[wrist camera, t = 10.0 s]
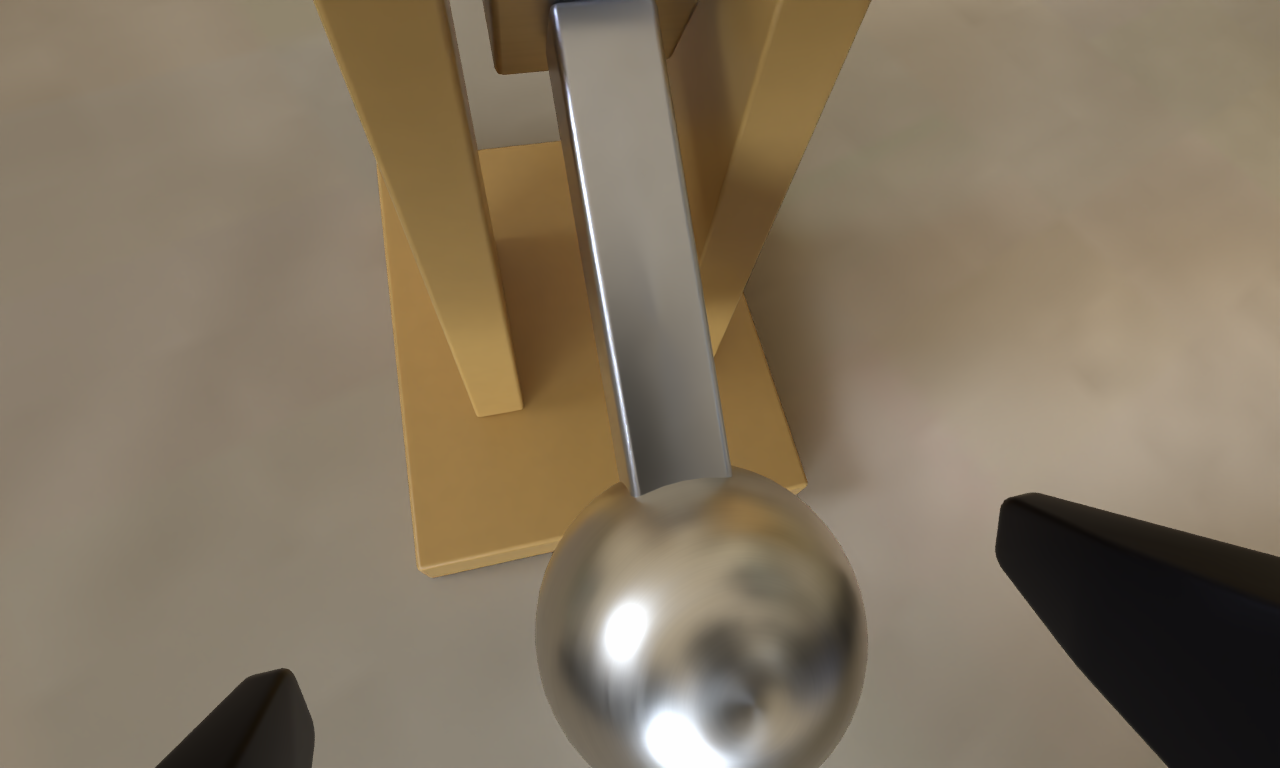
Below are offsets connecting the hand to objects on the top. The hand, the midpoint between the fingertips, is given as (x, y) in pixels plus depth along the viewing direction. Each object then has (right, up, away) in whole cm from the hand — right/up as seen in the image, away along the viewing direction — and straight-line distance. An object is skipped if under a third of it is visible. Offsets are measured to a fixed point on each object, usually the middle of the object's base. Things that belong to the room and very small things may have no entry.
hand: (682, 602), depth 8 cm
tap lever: (-1, +4, +1) cm, 4 cm away
